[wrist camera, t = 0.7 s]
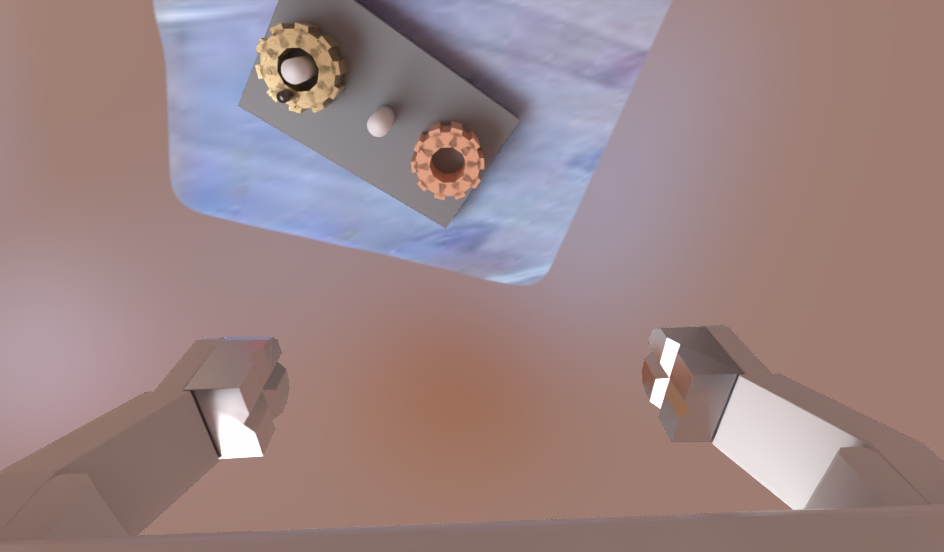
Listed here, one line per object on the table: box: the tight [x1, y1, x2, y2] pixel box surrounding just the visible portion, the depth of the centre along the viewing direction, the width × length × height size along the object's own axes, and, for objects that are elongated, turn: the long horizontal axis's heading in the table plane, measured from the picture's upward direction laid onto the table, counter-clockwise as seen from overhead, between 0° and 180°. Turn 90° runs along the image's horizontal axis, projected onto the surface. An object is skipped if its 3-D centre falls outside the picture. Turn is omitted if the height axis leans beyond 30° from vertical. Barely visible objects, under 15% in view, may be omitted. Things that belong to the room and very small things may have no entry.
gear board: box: [238, 0, 520, 228], centre depth 39 cm, size 13×22×6 cm, turn 56°
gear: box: [255, 22, 348, 113], centre depth 36 cm, size 7×7×4 cm
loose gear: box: [411, 121, 484, 200], centre depth 41 cm, size 7×7×3 cm
